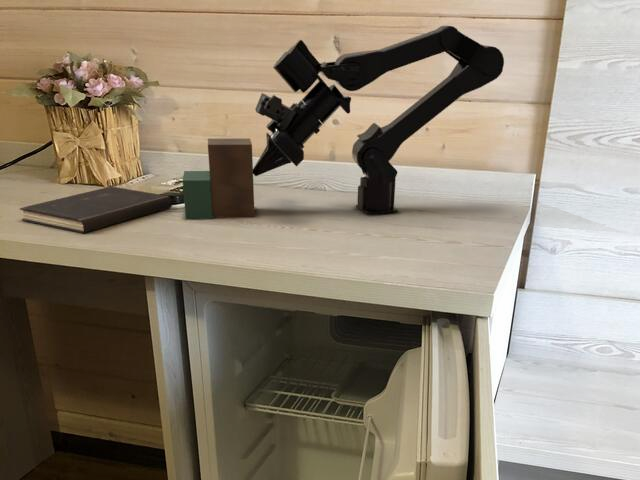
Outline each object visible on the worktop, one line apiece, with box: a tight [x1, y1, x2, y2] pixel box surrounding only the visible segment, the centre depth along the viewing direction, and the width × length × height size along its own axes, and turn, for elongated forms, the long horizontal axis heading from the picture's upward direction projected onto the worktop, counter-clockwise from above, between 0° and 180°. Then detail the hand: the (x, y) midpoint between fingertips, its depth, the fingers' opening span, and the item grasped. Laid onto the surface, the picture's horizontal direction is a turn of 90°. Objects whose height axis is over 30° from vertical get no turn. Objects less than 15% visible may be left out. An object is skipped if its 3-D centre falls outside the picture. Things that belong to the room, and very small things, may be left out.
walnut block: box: [207, 138, 256, 218], centre depth 140 cm, size 8×7×13 cm
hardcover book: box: [19, 186, 173, 234], centre depth 140 cm, size 16×23×2 cm
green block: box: [182, 170, 214, 220], centre depth 141 cm, size 5×9×7 cm, turn 8°
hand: (253, 174), depth 141 cm, fingers closed, pressing on walnut block
